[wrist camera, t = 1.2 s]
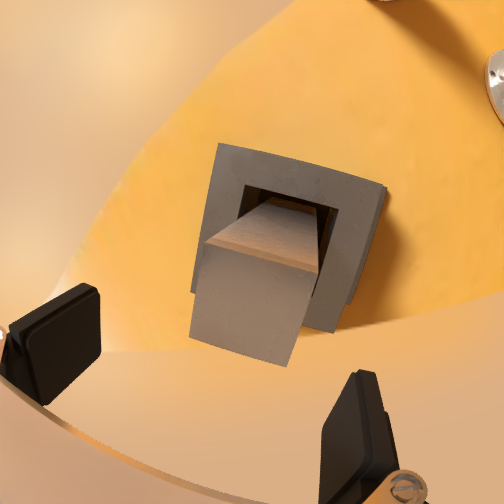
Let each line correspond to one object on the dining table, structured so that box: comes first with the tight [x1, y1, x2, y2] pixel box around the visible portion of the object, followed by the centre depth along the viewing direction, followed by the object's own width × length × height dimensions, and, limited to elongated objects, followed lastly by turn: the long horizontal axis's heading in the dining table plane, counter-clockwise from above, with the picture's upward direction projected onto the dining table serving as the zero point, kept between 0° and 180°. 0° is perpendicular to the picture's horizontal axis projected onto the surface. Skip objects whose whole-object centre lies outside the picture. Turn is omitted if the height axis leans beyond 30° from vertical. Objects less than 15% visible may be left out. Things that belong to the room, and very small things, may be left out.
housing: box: [190, 143, 387, 333], centre depth 30 cm, size 19×14×10 cm
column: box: [189, 197, 318, 367], centre depth 24 cm, size 5×6×22 cm
